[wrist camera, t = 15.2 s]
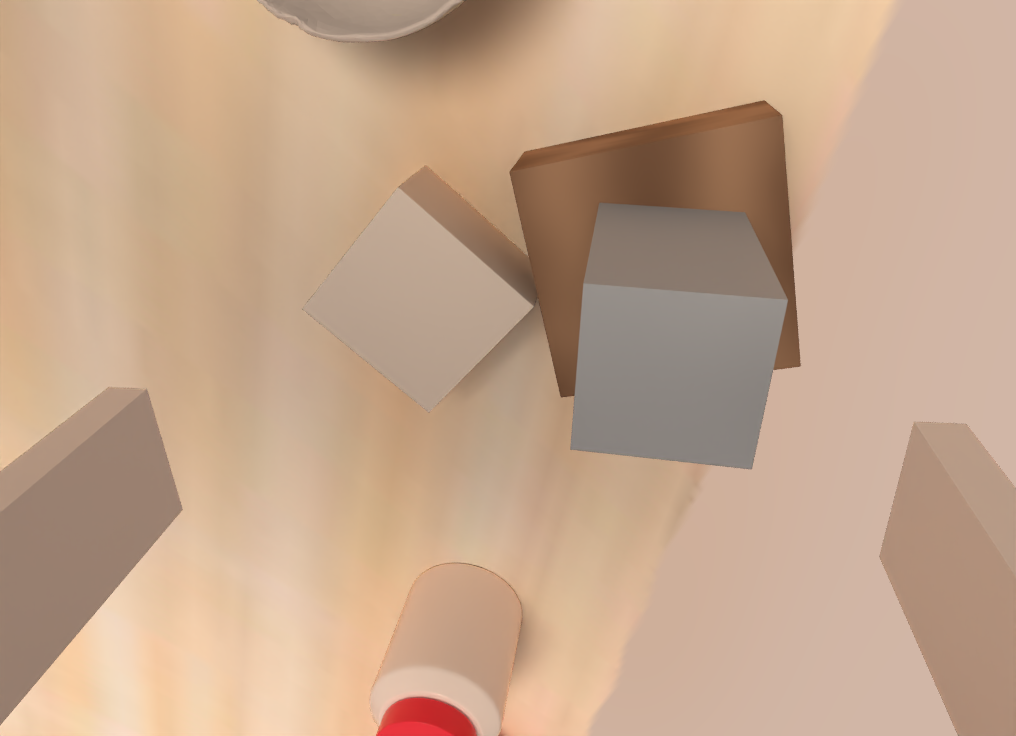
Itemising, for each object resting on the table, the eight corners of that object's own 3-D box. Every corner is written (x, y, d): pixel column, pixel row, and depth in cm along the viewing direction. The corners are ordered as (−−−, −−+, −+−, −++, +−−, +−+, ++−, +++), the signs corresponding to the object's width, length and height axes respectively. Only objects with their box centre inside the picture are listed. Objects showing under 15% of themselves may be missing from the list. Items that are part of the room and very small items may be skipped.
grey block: (451, 368, 41) (428, 412, 37) (338, 275, 40) (301, 308, 35) (546, 271, 38) (533, 306, 34) (427, 164, 36) (397, 186, 32)
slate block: (588, 331, 34) (570, 449, 25) (599, 202, 31) (583, 283, 22) (722, 343, 33) (751, 469, 24) (745, 212, 30) (788, 299, 22)
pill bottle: (405, 636, 51) (350, 784, 42) (413, 551, 48) (355, 692, 38) (514, 660, 51) (484, 817, 41) (530, 576, 47) (501, 726, 37)
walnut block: (569, 353, 40) (560, 397, 36) (525, 150, 36) (509, 172, 31) (781, 322, 37) (800, 366, 33) (762, 99, 33) (782, 115, 28)
